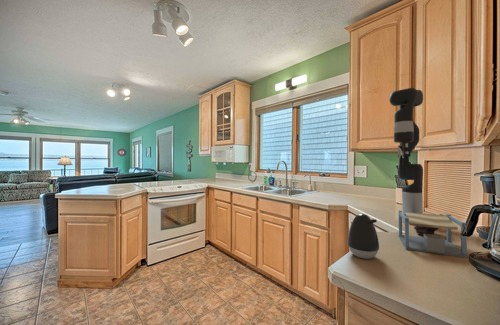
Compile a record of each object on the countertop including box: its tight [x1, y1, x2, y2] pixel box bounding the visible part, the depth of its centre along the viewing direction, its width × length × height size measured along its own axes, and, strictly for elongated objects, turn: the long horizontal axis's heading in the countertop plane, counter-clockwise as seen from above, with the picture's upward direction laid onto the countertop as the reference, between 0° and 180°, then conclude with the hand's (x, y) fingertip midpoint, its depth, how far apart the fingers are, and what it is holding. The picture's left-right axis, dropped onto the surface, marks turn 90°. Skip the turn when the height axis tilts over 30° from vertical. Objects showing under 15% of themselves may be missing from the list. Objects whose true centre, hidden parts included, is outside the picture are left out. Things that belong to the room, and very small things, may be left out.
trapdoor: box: [404, 212, 459, 231], centre depth 88 cm, size 14×15×4 cm
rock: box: [413, 226, 439, 236], centre depth 102 cm, size 12×9×10 cm
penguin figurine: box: [347, 213, 380, 260], centre depth 78 cm, size 10×10×15 cm
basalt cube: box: [423, 234, 446, 253], centre depth 81 cm, size 5×5×5 cm
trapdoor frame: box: [397, 210, 469, 259], centre depth 87 cm, size 17×18×12 cm
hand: (404, 166), depth 100 cm, fingers open, 8 cm apart
